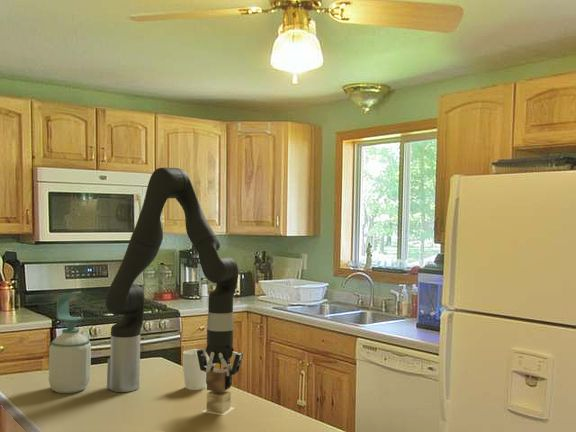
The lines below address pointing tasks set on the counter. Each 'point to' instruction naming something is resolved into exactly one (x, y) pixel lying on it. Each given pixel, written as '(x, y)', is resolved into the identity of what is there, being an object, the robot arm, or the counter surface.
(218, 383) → the walnut block
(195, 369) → the cup
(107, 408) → the counter surface
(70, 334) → the soap bottle
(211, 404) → the maple block
